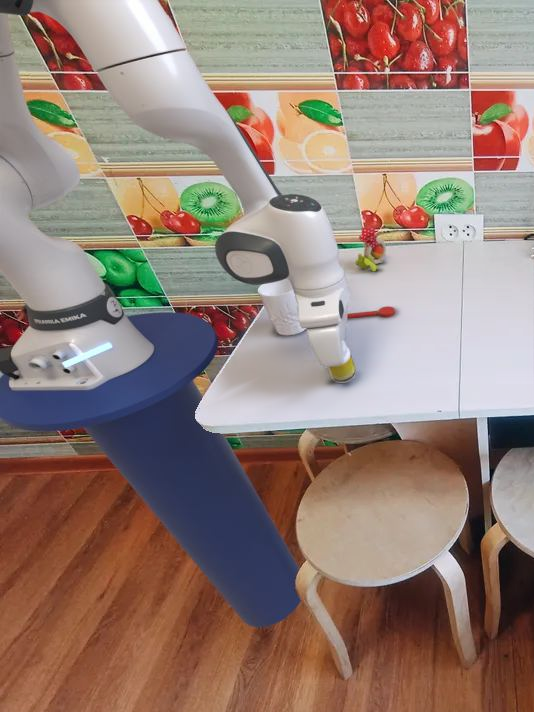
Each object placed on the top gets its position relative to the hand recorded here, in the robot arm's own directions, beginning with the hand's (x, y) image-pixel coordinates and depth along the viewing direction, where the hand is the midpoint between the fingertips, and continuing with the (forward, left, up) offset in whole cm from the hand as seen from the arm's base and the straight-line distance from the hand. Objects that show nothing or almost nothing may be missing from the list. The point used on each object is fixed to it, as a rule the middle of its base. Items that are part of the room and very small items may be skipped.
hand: (342, 357), depth 90 cm
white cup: (-13, +18, -3) cm, 22 cm away
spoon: (+2, +20, -2) cm, 20 cm away
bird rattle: (+4, +46, -3) cm, 46 cm away
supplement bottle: (0, -3, -2) cm, 3 cm away
